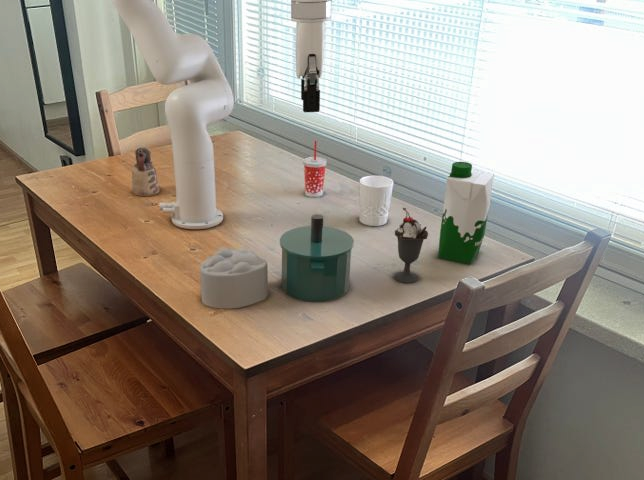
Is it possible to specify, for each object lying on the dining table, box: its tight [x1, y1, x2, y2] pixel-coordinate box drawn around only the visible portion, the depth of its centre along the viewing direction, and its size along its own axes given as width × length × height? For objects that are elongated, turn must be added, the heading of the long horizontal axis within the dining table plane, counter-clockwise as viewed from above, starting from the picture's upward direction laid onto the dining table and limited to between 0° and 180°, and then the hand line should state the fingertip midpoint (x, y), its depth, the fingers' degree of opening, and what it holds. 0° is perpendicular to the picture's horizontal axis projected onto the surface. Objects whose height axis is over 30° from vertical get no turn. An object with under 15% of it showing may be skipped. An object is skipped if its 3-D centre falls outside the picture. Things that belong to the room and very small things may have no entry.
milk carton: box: [437, 161, 495, 265], centre depth 153 cm, size 9×9×20 cm
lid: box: [279, 213, 355, 259], centre depth 141 cm, size 15×15×6 cm
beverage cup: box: [302, 140, 328, 198], centre depth 187 cm, size 6×6×14 cm
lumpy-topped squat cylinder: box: [199, 247, 269, 310], centre depth 142 cm, size 10×13×9 cm
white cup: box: [358, 175, 394, 227], centre depth 172 cm, size 8×8×10 cm
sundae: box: [393, 207, 429, 284], centre depth 146 cm, size 7×7×15 cm
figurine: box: [131, 146, 160, 197], centre depth 190 cm, size 7×7×12 cm
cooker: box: [281, 248, 352, 303], centre depth 145 cm, size 14×19×10 cm
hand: (310, 105), depth 144 cm, fingers open, 9 cm apart
